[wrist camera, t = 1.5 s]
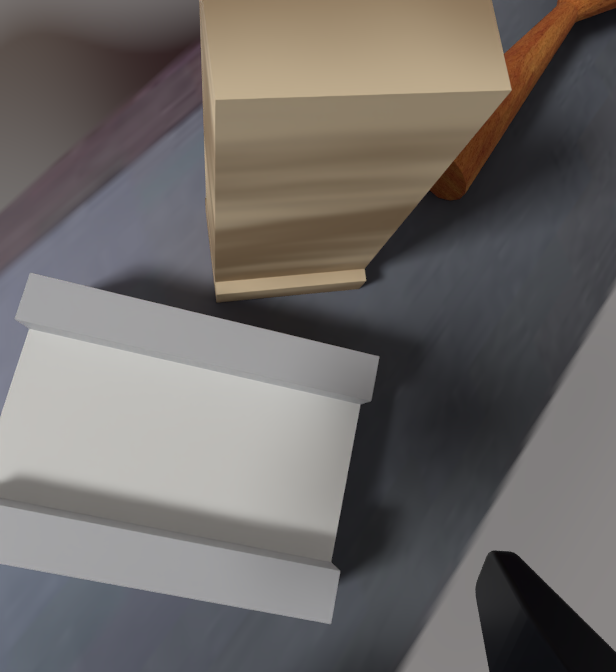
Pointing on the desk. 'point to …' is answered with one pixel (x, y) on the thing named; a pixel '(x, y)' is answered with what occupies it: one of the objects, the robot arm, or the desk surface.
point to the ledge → (177, 451)
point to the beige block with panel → (333, 129)
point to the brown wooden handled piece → (516, 89)
